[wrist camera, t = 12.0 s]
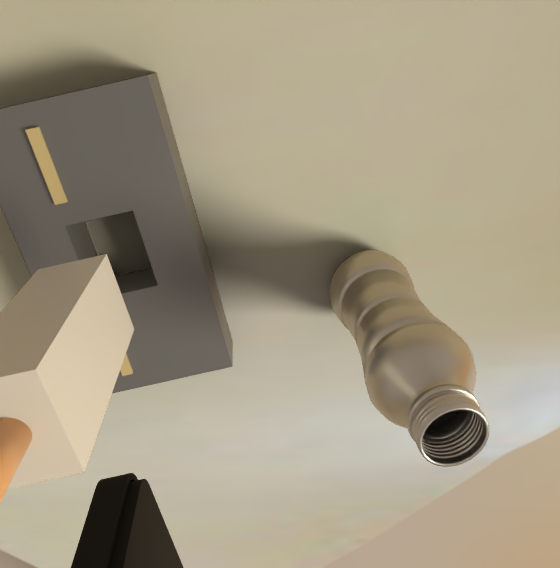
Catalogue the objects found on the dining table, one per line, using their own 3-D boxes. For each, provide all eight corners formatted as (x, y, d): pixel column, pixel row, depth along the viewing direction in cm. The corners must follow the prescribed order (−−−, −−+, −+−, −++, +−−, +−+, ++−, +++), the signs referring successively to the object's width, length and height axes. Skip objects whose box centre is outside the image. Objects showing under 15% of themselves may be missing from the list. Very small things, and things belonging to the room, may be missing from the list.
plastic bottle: (313, 304, 45) (368, 476, 27) (343, 231, 43) (425, 366, 25) (382, 323, 47) (478, 500, 28) (415, 254, 44) (543, 398, 26)
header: (-12, 111, 37) (-41, 118, 33) (156, 72, 37) (147, 75, 33) (96, 371, 46) (84, 401, 42) (232, 341, 46) (232, 368, 42)
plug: (38, 269, 30) (-141, 472, 16) (106, 254, 30) (-10, 443, 16) (70, 343, 33) (-63, 584, 18) (134, 329, 32) (54, 558, 18)
